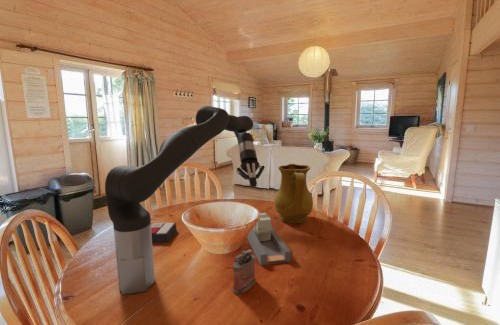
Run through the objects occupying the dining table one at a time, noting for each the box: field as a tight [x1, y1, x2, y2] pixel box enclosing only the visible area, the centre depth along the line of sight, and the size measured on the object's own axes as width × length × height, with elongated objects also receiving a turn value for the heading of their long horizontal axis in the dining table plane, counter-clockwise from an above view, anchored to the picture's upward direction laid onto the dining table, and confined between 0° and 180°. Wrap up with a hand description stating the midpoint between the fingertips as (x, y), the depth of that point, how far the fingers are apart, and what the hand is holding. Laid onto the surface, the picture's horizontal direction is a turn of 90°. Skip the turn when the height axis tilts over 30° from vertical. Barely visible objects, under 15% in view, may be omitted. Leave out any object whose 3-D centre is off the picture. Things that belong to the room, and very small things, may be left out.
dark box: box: [151, 222, 178, 244], centre depth 105 cm, size 11×4×15 cm
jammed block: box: [253, 212, 272, 241], centre depth 101 cm, size 7×5×8 cm
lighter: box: [232, 249, 257, 295], centre depth 73 cm, size 8×3×10 cm, turn 141°
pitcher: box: [274, 163, 314, 224], centre depth 120 cm, size 17×19×25 cm
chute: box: [246, 225, 292, 266], centre depth 99 cm, size 28×10×4 cm, turn 13°
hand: (253, 186), depth 114 cm, fingers closed
